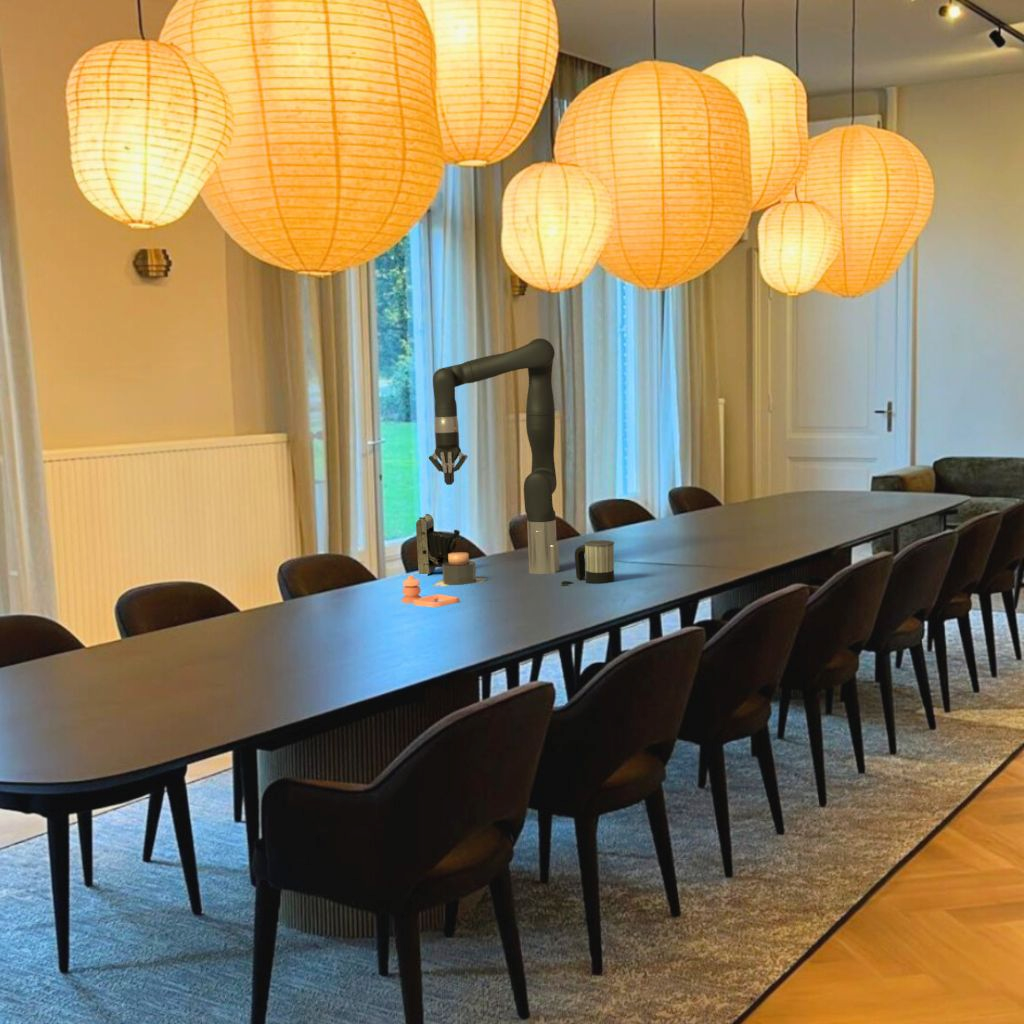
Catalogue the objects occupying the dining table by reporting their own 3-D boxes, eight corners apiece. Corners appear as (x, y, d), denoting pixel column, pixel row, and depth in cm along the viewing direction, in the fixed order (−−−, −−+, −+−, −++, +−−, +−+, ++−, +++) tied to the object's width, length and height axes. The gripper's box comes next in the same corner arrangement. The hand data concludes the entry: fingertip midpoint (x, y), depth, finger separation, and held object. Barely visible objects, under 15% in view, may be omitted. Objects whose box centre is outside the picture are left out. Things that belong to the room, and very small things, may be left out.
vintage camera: (463, 577, 430) (460, 517, 428) (418, 577, 433) (414, 517, 431) (470, 572, 440) (467, 513, 437) (425, 572, 443) (422, 513, 440)
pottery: (459, 611, 377) (458, 578, 376) (435, 617, 371) (434, 583, 369) (417, 604, 390) (415, 572, 388) (393, 610, 383) (391, 577, 382)
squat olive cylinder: (479, 579, 417) (478, 560, 416) (469, 585, 408) (469, 566, 407) (449, 578, 420) (448, 560, 419) (439, 584, 411) (438, 565, 410)
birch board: (487, 582, 419) (487, 578, 419) (474, 591, 405) (474, 586, 405) (445, 582, 423) (445, 577, 422) (431, 590, 409) (431, 586, 409)
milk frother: (620, 588, 401) (619, 540, 399) (599, 598, 388) (598, 548, 386) (578, 585, 408) (576, 538, 406) (556, 595, 394) (554, 546, 392)
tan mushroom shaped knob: (472, 577, 416) (471, 552, 415) (466, 581, 410) (464, 555, 409) (453, 576, 418) (451, 552, 417) (446, 580, 412) (445, 555, 411)
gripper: (470, 429, 422) (472, 483, 425) (431, 430, 426) (433, 483, 428) (462, 431, 415) (465, 485, 418) (423, 432, 419) (426, 486, 421)
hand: (449, 484), depth 423 cm, fingers closed
